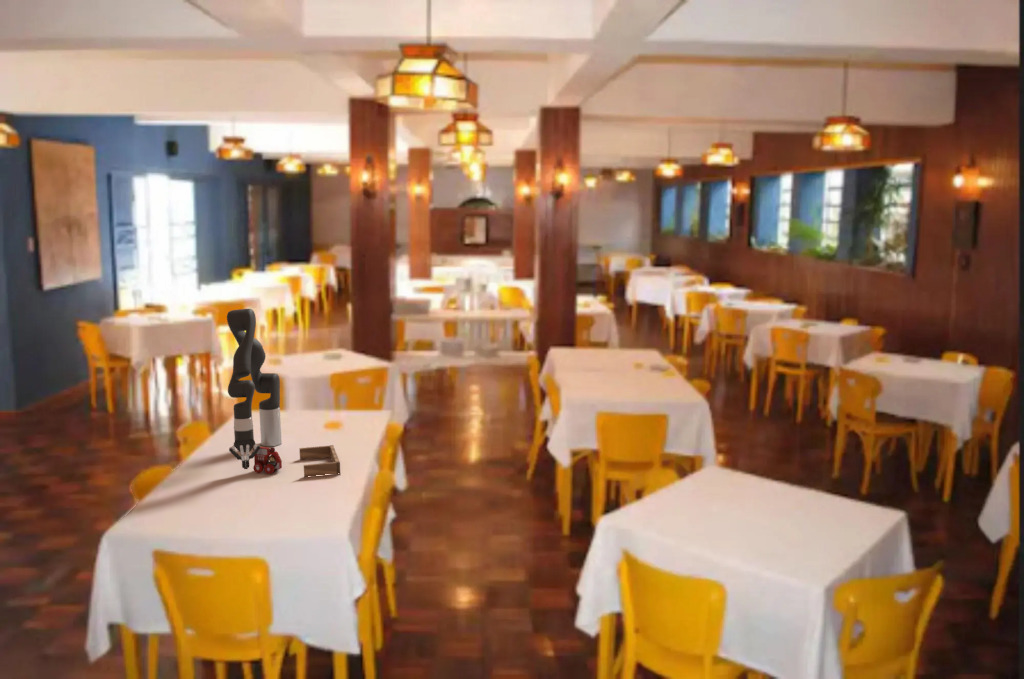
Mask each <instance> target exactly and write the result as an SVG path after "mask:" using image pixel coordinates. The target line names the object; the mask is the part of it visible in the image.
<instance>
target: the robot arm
mask: <svg viewBox="0 0 1024 679" xmlns="http://www.w3.org/2000/svg"><path fill="white" fill-rule="evenodd" d="M226 320H227V325H228V327H229V330H230V332H231V334H232V335H233V337H234V339H235V341H236V342H237V345H238V347H237V348H236V350H235V352H234V353H233V357H232V358H233V359H232V360H233V361H232V375H231V377H230V380H229V383H228V385H227V386H228V387H227V394H228V395H229V397H231V398H234V399H235V398H236V399H237V398H238V399H239V398H245V400H244V401H240V402H236V403H235V404H234V405H233V431H234V432H233V433H234V442H233V445H232V446H230V447H229V448H228V451H229V452H230V453H231V454H232V455H233V456H234V458H235V459H237V460H238V461H239V460H240V461H241V467H242V469H243V470H248V469H249V468H250V460H251V459H252V460H253V458H254V456H255V455H256V453H257V452H258V451H259V449H260V447H275V446H276V447H278V446H280V445H282V426H281V423H282V422H281V420H282V419H281V396H280V395H281V380H280V376H279V375H278V373H276V372H275V373H274V372H273V373H269V372H268V373H267V372H266V373H265V372H262V371H261V368H262V366H263V365H264V363H265V360H266V352H265V350H264V348H263V345H262V342H260V341H259V340H258V339H257V338H256V337H255V332H256V324H257V316H256V314H255V311H254V309H252V308H242V309H241V308H240V309H239V308H238V309H233V310H230V311H228V312H227V314H226ZM248 376H250V378H251V380H250V379H246V380H245V379H243V378H247V377H248ZM241 379H242V380H241ZM255 392H257V393H258V394H269V395H270V396H269V398H267V399H264V400H263V399H262V400H261V401H260V402H258V411H259V412H258V413H259V414H258V415H259V428H260V429H259V430H260V444H261V445H260V444H258V443H256V441H255V439H254V438H255V436H254V423H253V422H254V420H253V414H252V413H253V412H252V408H253V407H252V405H253V398H254V394H255ZM253 448H254V451H253ZM236 450H237V451H238V452H239V453H240V454H239V453H238V452H237V451H236ZM251 451H252V453H250V452H251Z"/></svg>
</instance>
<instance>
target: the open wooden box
mask: <svg viewBox="0 0 1024 679" xmlns="http://www.w3.org/2000/svg"><path fill="white" fill-rule="evenodd" d="M323 457H330V459H332V460H331V461H329V462H319V463H310V464H303V477H308V476H316V475H325V474H338V473H340V474H341V461H340V459H339V457H338V454H337V452H336V449H335V447H334V445H333V444H332V445H320V446H311V447H310V446H309V447H299V460H300V461H305V459H308V460H316V459H315V458H319V459H324V458H323ZM308 478H309V477H308Z"/></svg>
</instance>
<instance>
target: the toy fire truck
mask: <svg viewBox="0 0 1024 679" xmlns="http://www.w3.org/2000/svg"><path fill="white" fill-rule="evenodd" d="M253 451H254V447H253V448H252V452H253ZM253 458H254V464H253V468H252V469H253V471H254V472H255V473H257V474H260V473H262V472H265V473H266V474H267V475H271V474H273V473H274V472H275V471H278V470H281V469H282V467H283V465H282V462H283V461H282V459H281V456H280V455H279V452H278V451H276V448H275V446H271V447H269V446H260V449H259V451H258V452H257V453H256V455H255V456H254V457H253Z"/></svg>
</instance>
